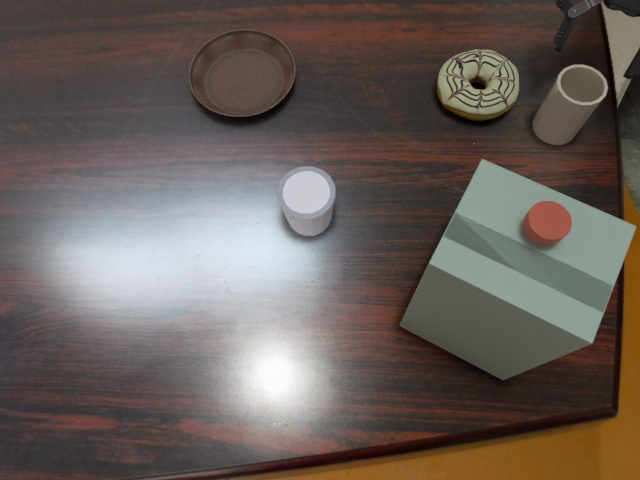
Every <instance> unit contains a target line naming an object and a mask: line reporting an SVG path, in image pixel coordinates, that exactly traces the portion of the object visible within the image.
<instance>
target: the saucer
mask: <svg viewBox="0 0 640 480" xmlns="http://www.w3.org/2000/svg"><path fill="white" fill-rule="evenodd" d="M296 69H297V68H296V61H295V57H294V55H293V54H292V51H291V49H290V48H289V47H288V46H287V45H286V43H284V41H282V40H281V39H280V38H279V37H276V36H275V35H273V34H272V33H269V32H267V31H263V30H259V29H253V28H239V29H233V30H229V31H224V32H222V33H220V34H217V35H216V36H214V37H212V38H210V39H208V40H207V41H206V42H204V44H203V45H202V46H201V47H199V48H198V50H197V52H196V53H195V54H194V55H193V58H192V59H191V62H190V65H189V68H188V84H189V88H190V90H191V92H192V94H193V96H194V97H195V99H196V100H197V101H198V102H199V103H200V104H201V105H202V106H203V107H204V108H206V109H208V110H210V111H211V112H213V113H215V114H219V115H222V116H226V117H233V118H246V117H253V116H257V115H260V114H261V115H262V114H263V113H265V112H267V111H269V110H270V109H272V108H274V107H276V106H277V105H278V104H279V103H280V102H282V100H284V98H285V97H286V96H287V95H288V93H289V92H290V91H291V89H292V87H293V85H294V81H295V78H296Z"/></svg>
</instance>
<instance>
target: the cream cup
mask: <svg viewBox="0 0 640 480" xmlns="http://www.w3.org/2000/svg"><path fill="white" fill-rule="evenodd" d="M608 90H609V85H608V82H607V79H606V77H605V76H604V75H603V74H602V72H601V71H599V70H598V69H596V68H595V67H593V66H590V65H587V64H572V65H571V64H570V65H569V66H566V67H564V68H563V69H562V70H561V71H560V72H559V73H558V74H557V77H556V78H555V80H554V82H553V84H552V85H551V87H550V88H549V90H548V92H547V94H546V95H545V96H544V98H543V101H542V102H541V104H540V105H539V107H538V109H537V111H536V113H535V114H534V116H533V119H532V122H531V123H532V124H531V125H532V131H533V133H534V135H535V136H536V137H537V138H538V139H539V140H541V141H542V142H544V143H545V144H548V145H551V146H563V145H566V144H568V143H570V142H572V140H573V139H575V137H576V136H577V135H578V134H579V132H580V131H581V130H582V128H584V126H585V124H586V123H587V121H588V120H589V119H590V118H591V116H592V115H593V114H594V112H595V111H596V110H597V108H598V107H599V105H600V104H601V103H602V102H603V100H604V99H605V98H606V96H607V94H608Z"/></svg>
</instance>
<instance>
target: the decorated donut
mask: <svg viewBox="0 0 640 480" xmlns="http://www.w3.org/2000/svg"><path fill="white" fill-rule="evenodd" d="M519 75H520V74H519V72H518V69H517V67H516V65H514V64H513V62H512V61H511V60H510V59H509V58H507V57H505V56H503V55H502V54H499V53H498V52H496V51H494V50H492V49H478V48H476V49H475V48H474V49H472V50H468V51H464V52H461V53H458V54H455V55H453V56H452V57H450V58H449V59H448V60H446V61H445V62H444V63H443V64H442V66H441V68H440V70H439V72H438V77H437V81H436V94H437V97H438V100H439V101H440V103H441V105H442V106H443V108H444V109H445V110H447V111H449V112H451V113H453V114H454V115H456V116H459V117H461V118H464V119H467V120H471V121H474V122H475V121H478V122H479V121H480V122H482V121H489V120H493V119H495V118H498V117H500V116H501V115H503V114H505V113H506V112H507V111H509V110H510V109H511V108H513V106H514V105H515V104H516V102H517V98H518V97H519V92H520V76H519ZM472 83H475V84H476V83H479V84H481V85H482V86H484V89H479V88H475V87H473V86H472Z"/></svg>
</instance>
